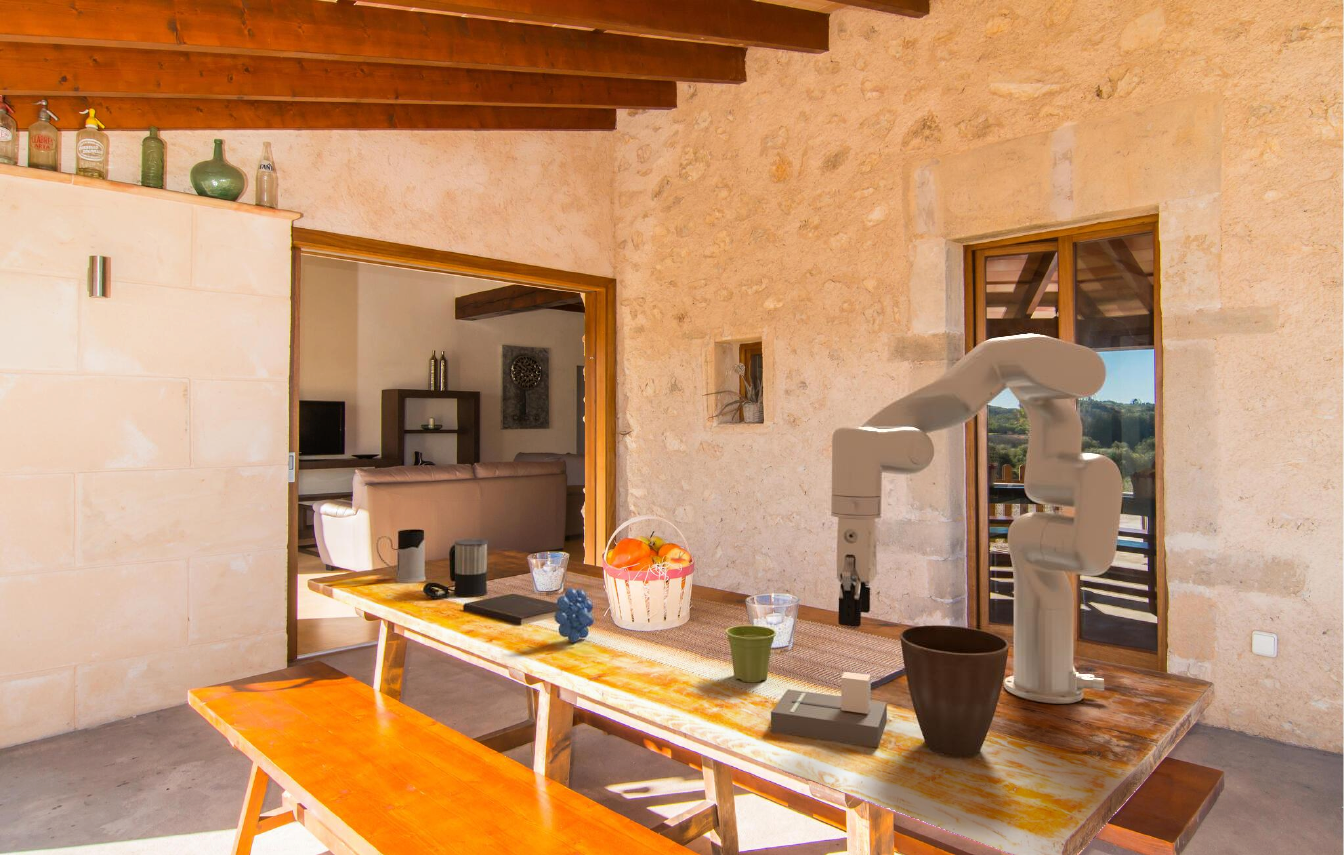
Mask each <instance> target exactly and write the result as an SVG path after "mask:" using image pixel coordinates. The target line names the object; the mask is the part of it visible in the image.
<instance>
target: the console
mask: <svg viewBox="0 0 1344 855" xmlns="http://www.w3.org/2000/svg"><path fill="white" fill-rule="evenodd" d="M887 708H888V703H887V702H886V701H878V700H873V699H872V700H871V707H870V710H869V712H868V714H866V713H858V712H851V711H844V710H841V695H835V694H834V695H832V694H825V693H817V692H811V691H803V690H796V689H795V690H794V689H787V690H786V691H785V692H784V693H783V695H782V696H781V698H780V699H779V700H778V702H777V703H776V704H775V706H774V707H773V708H772V710H771V711H770V732H772V733H779V734H785V735H793V736H798V737H806V738H812V739H818V740H825V741H831V742H839V743H844V744H850V745H851V744H852V745H858V746H865V747H869V748H870V747H871V748H877V749H878V748H879V746H880V743H881V740H882V737H883V734H884V731H885V729H886V728H885V727H886V725H887V722H888V721H887V720H888V719H887V718H888V716H887V715H888V712H887V711H888V709H887Z"/></svg>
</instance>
